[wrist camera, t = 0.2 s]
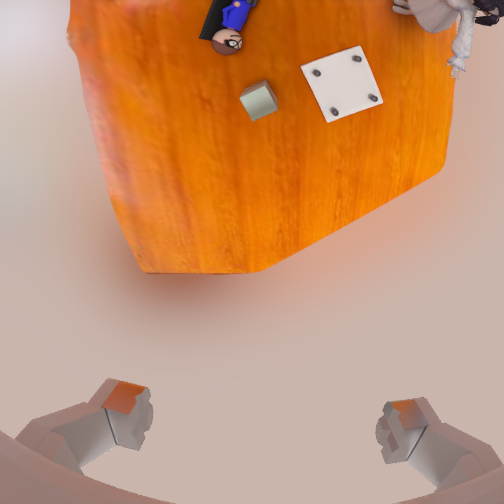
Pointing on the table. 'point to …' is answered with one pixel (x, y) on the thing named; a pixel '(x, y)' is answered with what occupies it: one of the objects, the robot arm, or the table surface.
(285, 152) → the table surface
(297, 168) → the table surface
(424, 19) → the figurine
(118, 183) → the table surface
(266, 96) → the sage block
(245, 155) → the table surface
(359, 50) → the display base
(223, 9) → the character figurine
